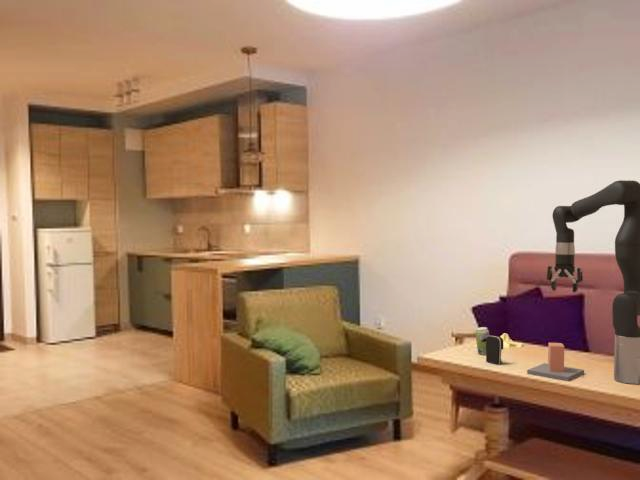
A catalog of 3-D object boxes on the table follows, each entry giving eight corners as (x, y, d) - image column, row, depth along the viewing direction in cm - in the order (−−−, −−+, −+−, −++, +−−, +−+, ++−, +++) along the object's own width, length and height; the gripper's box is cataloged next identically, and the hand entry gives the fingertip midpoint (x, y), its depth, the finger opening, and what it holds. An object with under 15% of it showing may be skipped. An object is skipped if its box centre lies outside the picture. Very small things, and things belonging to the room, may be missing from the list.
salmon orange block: (561, 368, 247) (561, 343, 247) (563, 372, 240) (564, 346, 240) (548, 367, 248) (548, 342, 248) (550, 371, 242) (550, 345, 241)
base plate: (584, 373, 245) (584, 369, 245) (567, 381, 233) (568, 377, 233) (544, 366, 256) (544, 363, 256) (527, 373, 244) (527, 369, 244)
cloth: (505, 340, 314) (505, 328, 314) (533, 347, 298) (533, 334, 297) (471, 344, 304) (471, 331, 304) (498, 351, 287) (498, 338, 287)
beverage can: (494, 354, 278) (494, 328, 277) (480, 356, 275) (480, 329, 274) (485, 352, 283) (486, 325, 283) (472, 353, 281) (472, 326, 280)
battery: (504, 363, 260) (504, 336, 260) (498, 365, 258) (499, 337, 258) (491, 360, 266) (491, 334, 266) (485, 362, 264) (485, 335, 264)
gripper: (544, 252, 265) (544, 290, 266) (578, 254, 255) (577, 293, 256) (552, 252, 270) (551, 289, 271) (585, 253, 261) (584, 292, 261)
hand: (564, 291), depth 263 cm, fingers open, 8 cm apart
